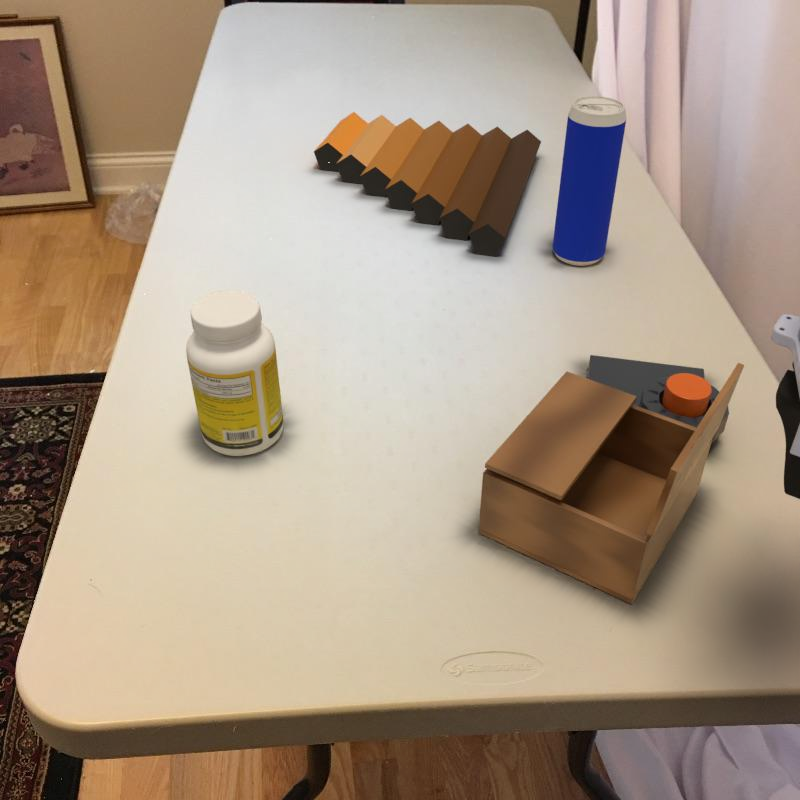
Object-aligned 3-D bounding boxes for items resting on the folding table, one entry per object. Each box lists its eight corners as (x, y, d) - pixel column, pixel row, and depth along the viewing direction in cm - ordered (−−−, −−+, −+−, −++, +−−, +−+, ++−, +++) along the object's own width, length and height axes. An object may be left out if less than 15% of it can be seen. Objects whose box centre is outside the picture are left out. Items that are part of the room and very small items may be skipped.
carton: (697, 493, 63) (716, 424, 59) (631, 604, 55) (649, 533, 52) (556, 437, 68) (566, 370, 64) (477, 532, 60) (483, 463, 56)
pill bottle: (252, 396, 72) (237, 274, 65) (300, 433, 68) (290, 308, 61) (185, 430, 68) (161, 305, 62) (231, 471, 65) (212, 343, 58)
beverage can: (604, 244, 91) (627, 97, 82) (604, 270, 87) (628, 117, 78) (552, 240, 92) (570, 93, 83) (550, 265, 88) (568, 113, 79)
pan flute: (503, 257, 89) (539, 158, 108) (506, 226, 87) (542, 131, 106) (267, 226, 94) (341, 136, 113) (264, 195, 92) (340, 110, 111)
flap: (713, 425, 59) (718, 427, 59) (645, 533, 52) (652, 536, 52) (738, 362, 56) (744, 364, 56) (670, 468, 48) (677, 471, 48)
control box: (714, 383, 73) (722, 352, 71) (721, 464, 65) (731, 432, 64) (588, 367, 75) (593, 337, 73) (581, 445, 67) (586, 413, 65)
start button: (705, 394, 68) (710, 375, 67) (707, 421, 65) (713, 402, 64) (661, 389, 68) (666, 370, 67) (662, 415, 66) (666, 396, 65)
